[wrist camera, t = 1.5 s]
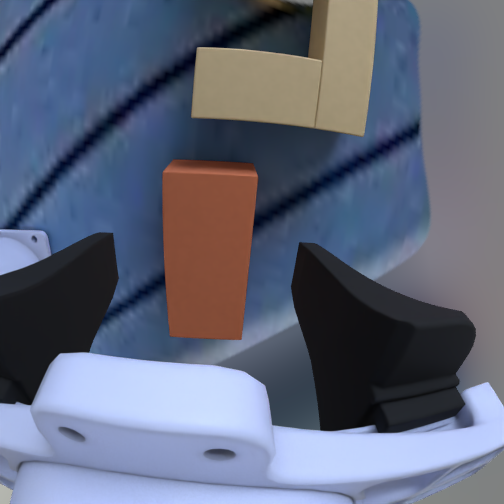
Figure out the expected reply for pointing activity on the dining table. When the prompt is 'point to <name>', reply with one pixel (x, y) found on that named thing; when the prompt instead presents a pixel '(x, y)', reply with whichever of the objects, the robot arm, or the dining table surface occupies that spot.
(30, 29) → the dining table surface
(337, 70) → the u-shaped block
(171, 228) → the reddish-brown rectangular block
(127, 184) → the dining table surface
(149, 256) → the dining table surface
